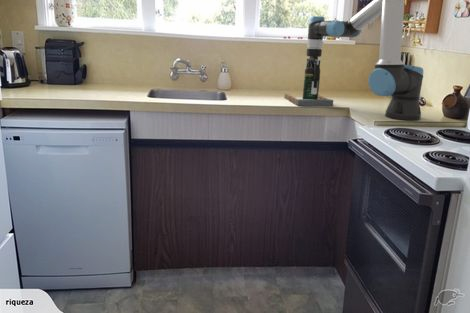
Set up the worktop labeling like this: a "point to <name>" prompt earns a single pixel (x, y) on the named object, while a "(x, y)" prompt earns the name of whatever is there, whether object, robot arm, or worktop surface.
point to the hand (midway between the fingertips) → (310, 92)
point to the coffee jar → (309, 84)
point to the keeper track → (293, 99)
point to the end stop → (314, 102)
